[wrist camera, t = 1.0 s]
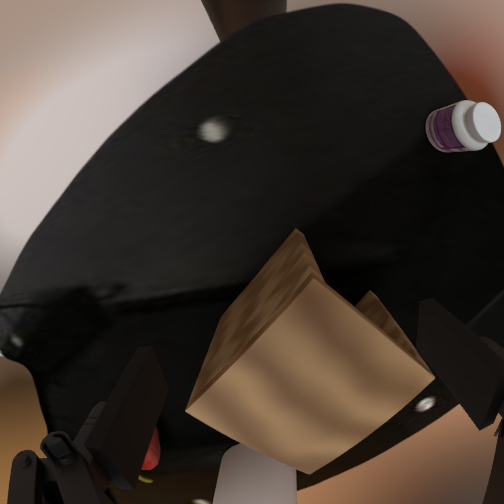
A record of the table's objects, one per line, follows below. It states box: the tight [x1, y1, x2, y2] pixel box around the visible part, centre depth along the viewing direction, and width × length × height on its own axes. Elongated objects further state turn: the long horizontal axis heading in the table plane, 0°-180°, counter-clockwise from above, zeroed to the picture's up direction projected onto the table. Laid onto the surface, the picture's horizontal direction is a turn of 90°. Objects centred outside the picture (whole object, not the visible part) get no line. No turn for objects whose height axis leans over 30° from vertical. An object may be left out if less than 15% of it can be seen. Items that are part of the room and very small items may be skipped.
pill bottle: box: [426, 100, 501, 152], centre depth 25 cm, size 5×5×10 cm
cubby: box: [185, 228, 435, 474], centre depth 28 cm, size 14×13×17 cm
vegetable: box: [138, 427, 160, 482], centre depth 39 cm, size 11×10×10 cm
